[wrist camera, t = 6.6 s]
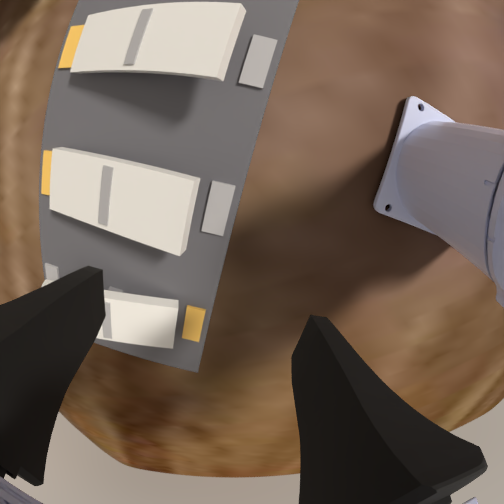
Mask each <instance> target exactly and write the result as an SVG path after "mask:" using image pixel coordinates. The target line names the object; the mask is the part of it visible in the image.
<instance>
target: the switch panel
mask: <svg viewBox="0 0 504 504" xmlns="http://www.w3.org/2000/svg"><path fill="white" fill-rule="evenodd" d="M174 2H228V3H241V4H242V5H243V7H244V8H245V10H246V14H245V16H244V19H243V22H242V25H241V28H240V31H239V34H238V37H237V40H236V43H235V46H234V49H233V52H232V55H231V58H230V61H229V65H228V68H227V71H226V74H225V78H224V81H218V80H212V79H205V78H197V77H189V76H179V75H168V74H154V73H129V72H104V73H72V72H70V70H71V66H72V63H73V59H74V56H75V52H76V49H77V46H78V43H79V40H80V37H81V34H82V31H83V28H84V25H85V23H86V20H87V17H88V15H91V14H96V13H100V12H105V11H110V10H115V9H121V8H127V7H134V6H141V5H150V4H160V3H174ZM298 2H299V0H79V1H78V4H77V6H76V8H75V11H74V13H73V16H72V18H71V21H70V24H69V26H68V29H67V32H66V35H65V38H64V41H63V44H62V47H61V51H60V54H59V57H58V61H57V65H56V68H55V72H54V76H53V81H52V85H51V90H50V94H49V100H48V105H47V111H46V117H45V123H44V131H43V139H42V149H41V161H40V179H39V222H40V240H41V252H42V262H43V271H44V278H45V280H46V279H47V280H53V281H55V280H57V279H59V278H62V277H64V276H66V275H68V274H70V273H72V272H74V271H76V270H79V269H81V268H83V267H86V266H91V267H95V268H99V269H102V270H103V284H104V290H109V291H116V292H122V293H129V294H136V295H143V296H150V297H158V298H166V299H174V300H178V315H177V322H176V329H175V337H174V344H173V349H171V348H162V347H153V346H145V345H137V344H130V343H123V342H116V341H110V340H104V339H98V338H96V339H95V341H94V343H97V344H100V345H102V346H105V347H108V348H111V349H114V350H117V351H120V352H123V353H126V354H130V355H133V356H136V357H139V358H143V359H146V360H150V361H153V362H157V363H161V364H164V365H168V366H172V367H176V368H180V369H184V370H188V371H193V372H197V373H198V370H199V365H200V361H201V356H202V352H203V348H204V343H205V339H206V335H207V330H208V326H209V322H210V318H211V313H212V309H213V305H214V301H215V297H216V293H217V288H218V284H219V280H220V276H221V272H222V268H223V264H224V260H225V256H226V252H227V248H228V244H229V240H230V236H231V233H232V229H233V225H234V221H235V217H236V213H237V210H238V206H239V202H240V198H241V194H242V191H243V187H244V183H245V180H246V176H247V172H248V169H249V165H250V161H251V158H252V154H253V151H254V147H255V143H256V140H257V136H258V133H259V129H260V126H261V122H262V119H263V115H264V112H265V108H266V105H267V102H268V98H269V95H270V91H271V88H272V85H273V81H274V78H275V75H276V71H277V68H278V65H279V62H280V58H281V55H282V52H283V49H284V45H285V42H286V39H287V36H288V33H289V29H290V26H291V23H292V20H293V17H294V14H295V11H296V8H297V5H298ZM59 147H65V148H71V149H76V150H81V151H86V152H91V153H96V154H101V155H106V156H111V157H116V158H120V159H125V160H129V161H134V162H138V163H142V164H146V165H151V166H155V167H159V168H163V169H167V170H171V171H175V172H179V173H183V174H187V175H190V176H194V177H198V178H200V183H199V187H198V192H197V196H196V201H195V206H194V211H193V216H192V221H191V226H190V231H189V236H188V242H187V247H186V250H185V251H184V252H183V253H182V254H181V256H177V255H174V254H172V253H169V252H166V251H163V250H160V249H157V248H154V247H152V246H149V245H146V244H143V243H140V242H137V241H135V240H132V239H129V238H126V237H123V236H121V235H118V234H115V233H112V232H110V231H107V230H104V229H102V228H99V227H96V226H94V225H91V224H88V223H85V222H83V221H80V220H78V219H75V218H72V217H70V216H67V215H64V214H62V213H59V212H57V211H54V210H51V209H50V174H51V160H52V149H53V148H59Z"/></svg>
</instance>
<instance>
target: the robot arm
mask: <svg viewBox="0 0 504 504" xmlns="http://www.w3.org/2000/svg"><path fill="white" fill-rule="evenodd" d="M418 104H420V106H421V110H419V109H418ZM388 204H389V205H390V207H389V209H388V210H385V207H386V205H388ZM373 206H374V209H375V210H376V211H377V212H379V213H381V214H384V215H386V216H389V217H392V218H394V219H397V220H400V221H402V222H405V223H407V224H410V225H413V226H415V227H418V228H420V229H423V230H425V231H428V232H430V233H432V234H435V235H437V236H439V237H440V238H441V239H443V240H444V241H445V242H447V243H448V244H449V245H451V246H452V247H453V248H454V249H456V250H457V251H458V252H459V253H461V254H462V255H463V256H464V257H465V258H467V259H468V260H469V261H470V262H472V263H473V264H474V265H475V266H476V267H477V268H479V269H480V270H481V271H482V272H483V273H484V274H485V275H487V276H488V277H489V278H490V279H491V280H492V281H493V282H495V284H496V287H497V295H496V301H497V302H498V303H499V304H500V305H501V306H502V307H503V308H504V130H502V129H496V128H490V127H484V126H478V125H471V124H463V123H456V122H455V121H453V120H452V119H450V118H449V117H447V116H446V115H444V114H443V113H441V112H440V111H438V110H437V109H435V108H434V107H432V106H430V105H429V104H427V103H425V102H424V101H422V100H421V99H419V98H417V97H415V96H411V97H408V98H407V99H406V102H405V106H404V110H403V114H402V117H401V121H400V124H399V128H398V131H397V134H396V138H395V141H394V144H393V148H392V151H391V154H390V157H389V160H388V163H387V166H386V169H385V172H384V175H383V178H382V181H381V183H380V186H379V189H378V192H377V195H376V197H375V200H374V203H373ZM105 317H106V312H105V299H104V284H103V270H102V269H99V268H95V267H91V266H86V267H83V268H81V269H79V270H76V271H74V272H72V273H70V274H68V275H66V276H64V277H62V278H59V279H57V280H55V281H53V282H51V283H49V284H47V285H45V286H43V287H41V288H39V289H37V290H34V291H32V292H30V293H28V294H26V295H23V296H21V297H19V298H17V299H15V300H12V301H10V302H7V303H5V304H2V305H0V504H43V503H41V502H39V501H38V500H36V499H34V498H32V497H31V496H29V495H27V494H26V493H24V492H23V491H21V490H20V489H18V488H16V487H15V486H13V485H12V484H10V483H9V482H7V481H6V480H5V479H4V476H5V474H8V475H9V476H11V477H12V478H14V479H15V478H16V476H17V475H18V476H19V477H21V478H22V479H24V480H25V481H27V482H29V483H30V484H32V485H34V486H39V485H42V484H43V481H44V471H45V464H46V457H47V452H48V447H49V443H50V439H51V434H52V431H53V428H54V424H55V421H56V417H57V414H58V412H59V409H60V406H61V403H62V401H63V398H64V395H65V393H66V391H67V389H68V387H69V384H70V383H71V381H72V379H73V377H74V375H75V374H76V372H77V370H78V368H79V367H80V365H81V363H82V361H83V360H84V358H85V356H86V355H87V353H88V351H89V349H90V348H91V346H92V344H93V343H94V341H95V339H96V337H97V335H98V333H99V331H100V328H101V326H102V324H103V321H104V319H105ZM292 386H293V393H294V400H295V407H296V414H297V421H298V428H299V435H300V454H301V470H300V494H299V504H451V502H452V500H451V497H450V495H451V494H452V493H454V492H456V491H457V490H459V489H461V488H462V487H464V486H465V485H467V484H469V483H470V482H472V481H473V480H475V479H476V478H477V477H479V476H480V475H481V474H483V473H484V472H485V471H486V469H487V467H488V466H487V463H486V460H485V458H484V456H483V453H482V451H481V449H480V447H479V446H476V445H474V444H472V443H470V442H467V441H466V440H463V439H461V438H459V437H457V436H455V435H453V434H451V433H449V432H448V431H446V430H444V429H443V428H441V427H439V426H438V425H436V424H434V423H433V422H431V421H430V420H428V419H427V418H426V417H424V416H423V415H421V414H420V413H419V412H417V411H416V410H415V409H413V408H412V407H411V406H410V405H408V404H407V403H406V402H405V401H404V400H402V399H401V398H400V397H399V396H398V395H397V394H396V393H395V392H393V391H392V390H391V389H390V388H389V387H388V386H387V385H386V384H385V383H384V382H383V381H382V380H381V379H380V378H379V377H378V376H377V375H376V374H375V373H374V372H373V371H372V369H371V368H370V367H369V366H368V365H367V364H366V363H365V362H364V361H363V359H362V358H361V357H360V356H359V355H358V354H357V352H356V351H355V350H354V349H353V348H352V346H351V345H350V344H349V343H348V342H347V340H346V339H345V338H344V337H343V336H342V334H341V333H340V332H339V331H338V330H337V328H336V327H335V326H334V325H333V324H332V323H331V321H330V320H329V319H328V318H327V317H320V316H314V315H310V317H309V319H308V322H307V324H306V326H305V328H304V331H303V333H302V335H301V337H300V339H299V341H298V344H297V346H296V348H295V350H294V352H293V354H292ZM463 504H478V501H477V498H476V497H473V498H472V499H470V500H468V501H466V502H465V503H463Z"/></svg>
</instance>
